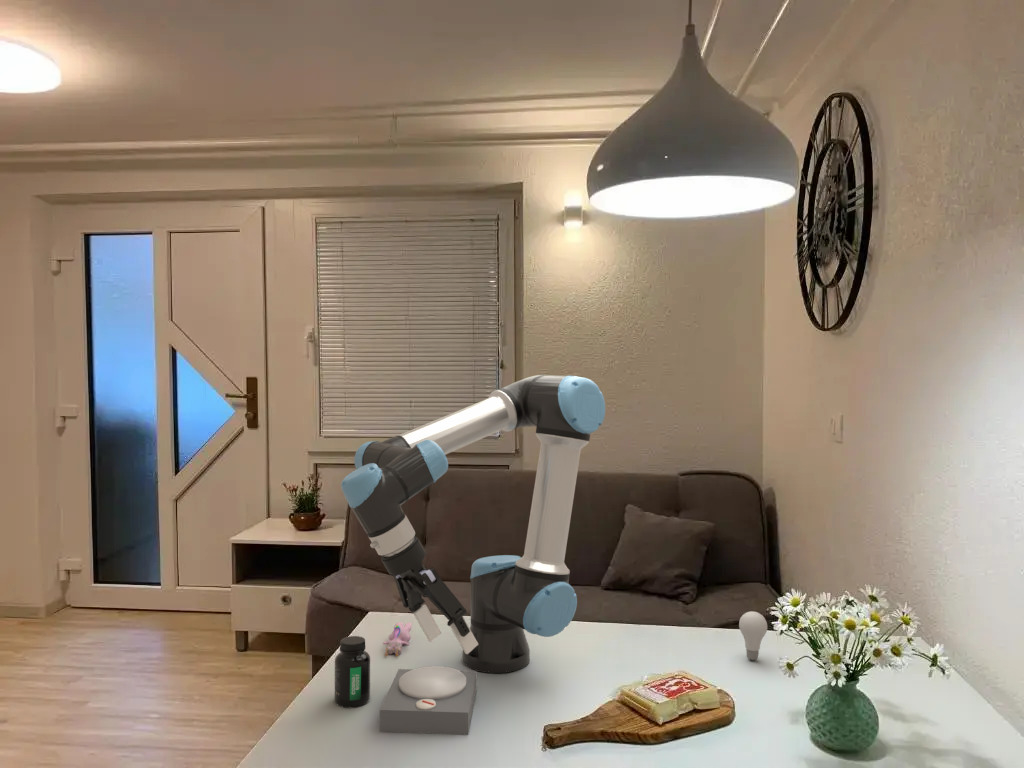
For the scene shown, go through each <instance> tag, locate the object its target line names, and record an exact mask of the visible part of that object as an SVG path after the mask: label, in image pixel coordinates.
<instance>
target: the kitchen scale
mask: <svg viewBox="0 0 1024 768" xmlns="http://www.w3.org/2000/svg"><path fill="white" fill-rule="evenodd" d="M477 676H478V671H477V670H458V669H455V668H453V667H448V666H441V665H440V666H439V665H438V666H437V665H436V666H433V665H432V666H429V665H428V666H423V667H417V668H413V669H412V668H411V669H409V668H398V669H397V672H396V673H395V676H394V678H393V680H392V683H391V685H390V687H389V689H388V691H387V693H386V695H385V698H384V700H383V702H382V703H381V707H380V709H379V733H381V732H382V733H408V734H409V733H412V734H413V733H414V734H415V733H416V734H439V735H443V734H444V735H469V733H470V726H471V721H472V716H473V712H474V711H473V710H474V705H475V701H476V696H477V689H478V686H477V685H478V683H477V682H478V677H477Z"/></svg>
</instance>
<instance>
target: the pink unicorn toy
mask: <svg viewBox="0 0 1024 768" xmlns="http://www.w3.org/2000/svg"><path fill="white" fill-rule="evenodd" d="M412 626H413V624H412V623H411V622H407V623H405V624H404V622H396V624H395V625H394V627H393V630H392V632H391V633H390V635H389V636H388V639H389V640H387V641H384V642H382V644H383V645H386V649H385V652H384V653H385V654H384V657H385V658H387V656H388V657H389V656H390V655H392V654H395V655H394V657H397V658H400V656H399V655H400V654H401V653H402V651H403V645H406V646H410V643H409V641H410V640H411V635H410V632H411V630H412V628H413V627H412Z"/></svg>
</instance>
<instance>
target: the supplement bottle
mask: <svg viewBox="0 0 1024 768" xmlns="http://www.w3.org/2000/svg"><path fill="white" fill-rule="evenodd" d="M366 648H367V647H366V639H365V638H364V637H363V636H359V635H358V636H357V635H353V636H352V635H351V636H347V637H344V638H341V639H340V641H339V653H338V654H337V655H336V656H335V658H334V702H335V703H336V705H337V704H338V705H337V706H339V707H341V706H343V707H342V708H346V707H353V708H358V706H359V707H361V705H362V706H364V705H366V704H367V703H368V702H369V701H370V699H371V656H370V654H369V652H367V651H366Z"/></svg>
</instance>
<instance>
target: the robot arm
mask: <svg viewBox="0 0 1024 768" xmlns="http://www.w3.org/2000/svg"><path fill="white" fill-rule="evenodd" d="M605 415H606V401H605V397H604V395H603V392H602V391H601V389H600V387H599V386H598V384H596V383H595V381H593V380H592V379H589V378H587V377H584V376H583V377H581V376H577V375H547V374H538V375H537V374H536V375H533V376H532V375H531V376H529V377H526V378H523V379H520V380H517V381H515V382H513V383H510V384H508V385H506V386H503V387H501V388H498V389H495V390H493V391H492V392H491V393H490V394H489V395H488V397H487V398H486V399H483V400H481V401H478V402H476V403H474V404H471V405H469V406H466V407H464V408H462V409H459V410H456V411H454V412H451V413H448V414H447V415H445V416H442V417H440V418H437V419H435V420H432V421H429V422H428V423H424V424H423V425H419V426H417V427H415V428H414V429H410V430H408V431H406V432H403V433H400V434H398V435H395V436H393V437H391V438H388V439H385V440H383V441H380V440H379V441H378V440H373V441H366V442H364V443H363V444H361V445H360V446H359V447H358V448H357V449H356V452H355V455H354V459H353V462H354V467H355V470H354V471H351V472H350V473H349V474H347V475H346V476H345V477H344V478H343V479H342V481H341V483H340V487H341V491H342V493H343V495H344V498H345V499H346V501H347V503H348V506H349V508H351V510H352V512H353V514H354V515H355V517H356V519H357V520H358V522H359V523H360V525H361V527H362V529H363V530H364V532H365V533H366V535H367V537H368V539H369V541H370V542H371V543H369V544H370V545H369V546H370V548H371V549H375V551H376V554H378V556H380V561H381V562H382V564H383V566H384V567H385V569H386V571H387V572H388V574H389V575H390V576H392V577H393V579H394V581H395V584H396V587H397V590H398V594H399V596H400V599H401V602H402V606H403V607H404V608H406V609H408V610H409V611H410V612H411V613H413V616H414V617H415V619H416V621H417V623H418V624H419V627H420V628H421V630H422V632H423V633H424V635H425V636H426V639H427V640H428V642H430V643H431V642H433V641H434V640H435V639H437V638H438V637H439V636H440V635H441V634H442V631H441V629H440V627H439V625H438V624H437V622H436V621H435V618H434V617H433V615H432V613H431V612H430V610H429V607H427V604H424V603H426V600H425V599H424V598H427V599H428V600H429V601H430V602H431V603H432V605H434V606H435V607H436V609H438V611H440V613H441V614H442V615H444V617H445V618H446V619H447V620H448V621H447V622H446V623H447V624H446V625H447V626H448V627H450V629H451V631H452V633H453V635H454V637H455V638H456V640H457V642H458V644H459V646H460V647H461V649H462V652H461V654H462V657H461V659H462V663H463V664H464V665H465V666H466V667H467V668H469V669H472V670H473V671H477V672H483V673H491V674H504V673H505V674H506V673H510V672H511V673H512V672H514V671H515V672H516V671H518V670H519V671H520V670H521V669H524V668H525V667H527V665H528V664H529V663H530V657H531V656H530V655H531V654H530V653H531V650H530V647H529V643H528V639H527V637H526V633H525V631H526V632H527V633H529V634H531V635H538V636H540V637H544V638H551V637H554V636H556V635H558V634H560V633H561V632H563V631H564V630H565V628H566V627H568V626H569V625H570V623H571V622H572V620H573V618H574V617H575V613H576V611H577V607H578V598H577V597H578V596H577V594H576V591H575V589H574V588H573V586H572V585H571V584H570V583H569V580H570V572H571V571H570V569H569V568H568V567H567V565H566V563H565V559H566V558H565V557H566V553H567V544H568V538H569V533H570V532H569V531H570V524H571V517H572V510H573V505H574V498H575V491H576V485H577V477H578V471H579V464H580V458H581V450H582V449H583V448H584V447H586V446H587V445H588V444H589V443H590V439H591V434H592V433H594V432H596V431H597V430H599V428H600V426H601V425H603V422H604V419H605ZM525 427H527V428H528V427H536V429H535V436H536V438H537V439H538V440H539V442H540V448H539V454H538V455H539V456H538V461H537V468H536V473H535V481H534V486H533V487H534V488H533V493H532V499H531V500H532V501H531V507H530V513H529V514H530V515H529V521H528V526H527V532H526V538H525V545H524V553H523V555H522V557H521V556H520V555H515V554H513V555H511V554H510V555H509V554H503V555H490V556H485V557H480V558H477V559H476V560H475V561H474V562H473V563H472V565H471V569H470V570H471V572H470V577H469V579H470V625H468V623H467V621H466V619H465V617H464V616H465V615H466V614H467V613H468V611H467V609H466V608H465V607H464V606H463V604H462V603H461V602H460V600H458V598H457V597H456V595H455V594H454V593H453V592H452V591H451V590H450V588H449V587H448V586H447V585H446V583H445V582H444V581H443V579H442V578H441V577H440V575H439V574H438V572H437V571H436V569H435V568H434V567H433V566H432V567H430V568H427V567H425V566H424V564H423V560H424V559H425V557H426V555H427V552H426V550H425V548H424V546H423V545H422V542H421V541H420V539H419V537H418V536H415V535H416V531H415V529H414V527H413V525H412V524H411V522H410V519H409V518H408V516H407V515H406V514H405V513H406V512H404V510H403V508H402V505H403V504H405V503H406V502H408V501H409V500H411V499H412V498H413V497H414V496H416V495H418V494H419V493H421V492H422V491H423V490H425V489H427V488H428V487H429V486H431V485H433V484H435V483H436V482H437V480H439V479H440V478H441V477H442V476H443V475H444V474H446V473H447V471H448V469H449V461H448V457H447V456H446V455H448V454H450V453H453V452H454V451H457V450H460V449H462V448H464V447H466V446H468V445H470V444H473V443H475V442H477V441H479V440H482V439H484V438H487V437H490V436H491V435H494V434H495V433H499V432H500V431H503V432H511V431H513V430H516V429H519V428H525Z"/></svg>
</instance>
